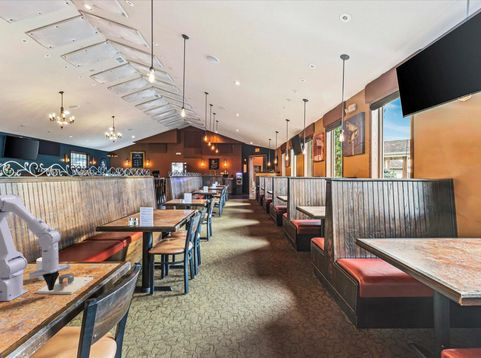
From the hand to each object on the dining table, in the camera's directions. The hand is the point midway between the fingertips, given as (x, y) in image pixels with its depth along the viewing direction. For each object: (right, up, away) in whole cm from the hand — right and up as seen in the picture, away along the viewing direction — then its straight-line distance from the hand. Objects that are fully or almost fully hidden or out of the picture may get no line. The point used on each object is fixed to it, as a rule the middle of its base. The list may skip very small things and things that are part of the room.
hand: (50, 289), depth 114 cm
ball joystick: (+2, 0, +8) cm, 8 cm away
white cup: (-16, -2, +19) cm, 25 cm away
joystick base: (+1, -2, +9) cm, 10 cm away
